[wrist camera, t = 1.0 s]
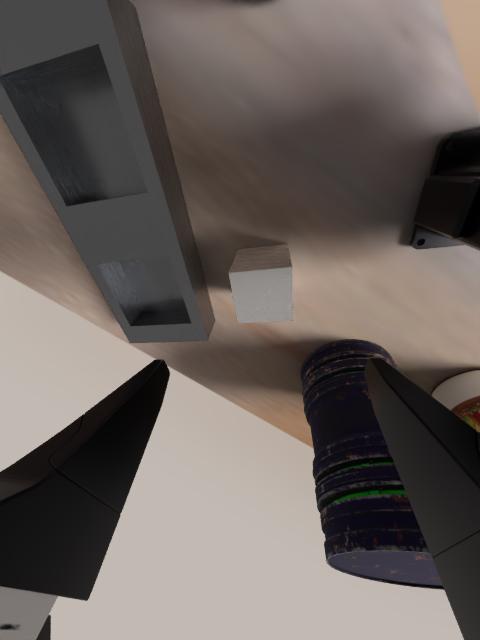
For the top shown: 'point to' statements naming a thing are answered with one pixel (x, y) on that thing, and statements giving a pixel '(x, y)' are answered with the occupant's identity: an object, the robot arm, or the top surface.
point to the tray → (105, 158)
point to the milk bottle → (462, 396)
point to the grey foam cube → (262, 284)
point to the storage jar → (360, 473)
